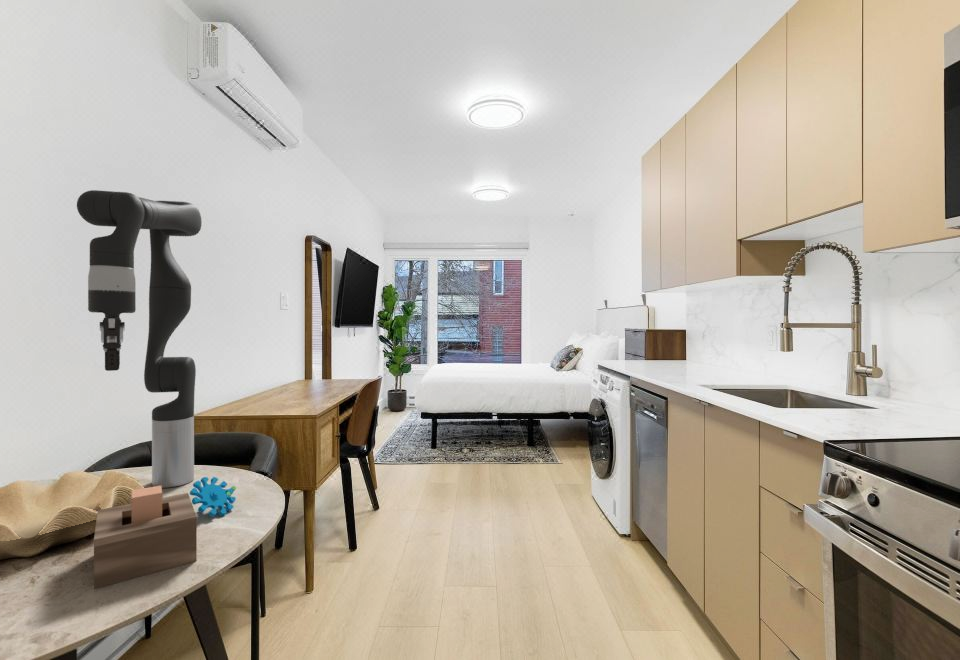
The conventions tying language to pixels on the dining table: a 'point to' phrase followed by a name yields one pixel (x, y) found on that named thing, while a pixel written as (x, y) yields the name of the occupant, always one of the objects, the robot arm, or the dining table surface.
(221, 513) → the gear
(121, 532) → the slot box
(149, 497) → the block
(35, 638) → the dining table surface
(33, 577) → the dining table surface
